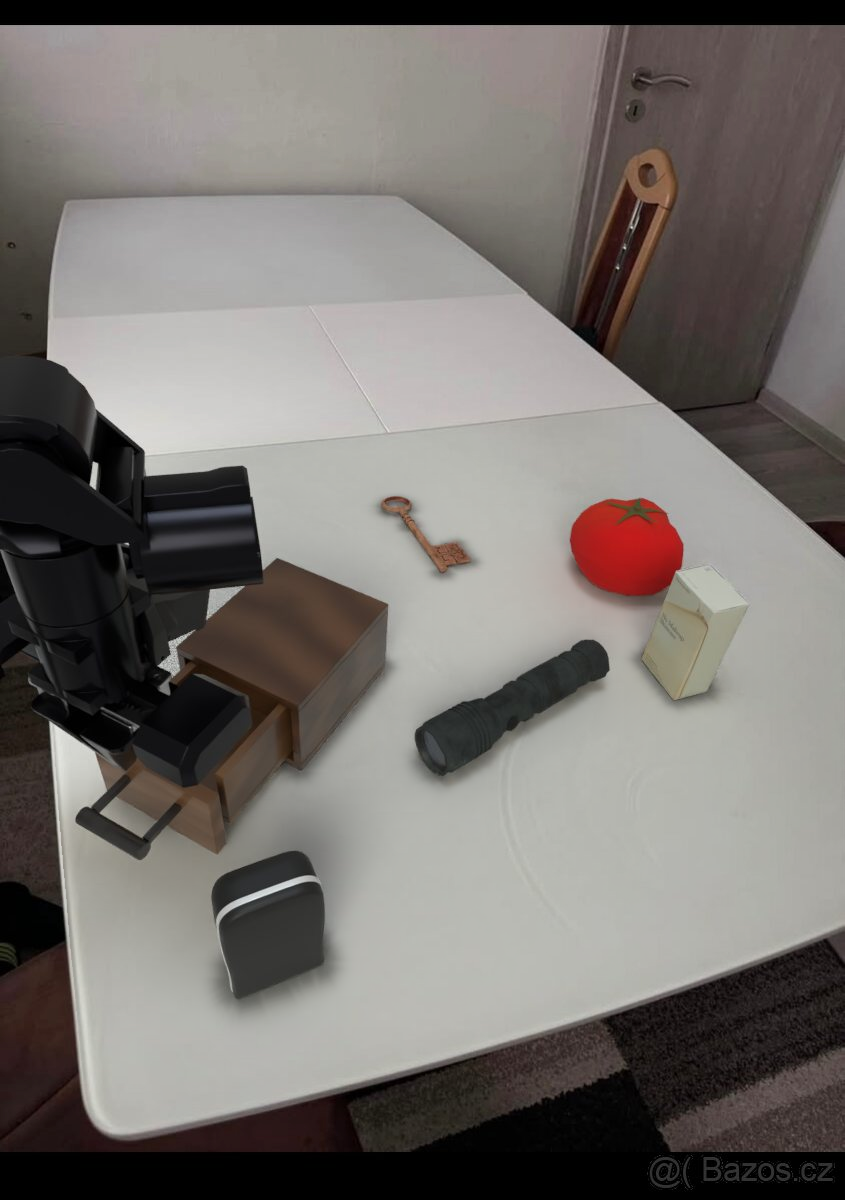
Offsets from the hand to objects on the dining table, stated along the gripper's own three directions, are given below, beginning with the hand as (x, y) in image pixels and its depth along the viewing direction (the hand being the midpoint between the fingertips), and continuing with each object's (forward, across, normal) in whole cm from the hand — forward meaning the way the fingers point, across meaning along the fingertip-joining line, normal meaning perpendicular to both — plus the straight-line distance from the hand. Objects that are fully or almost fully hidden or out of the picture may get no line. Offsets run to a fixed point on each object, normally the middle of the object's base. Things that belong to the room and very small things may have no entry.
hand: (126, 764), depth 55 cm
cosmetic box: (+13, -31, -42) cm, 54 cm away
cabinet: (+13, +1, -20) cm, 24 cm away
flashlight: (+13, -19, -28) cm, 36 cm away
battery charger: (+13, -12, +2) cm, 18 cm away
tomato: (+13, -21, -54) cm, 59 cm away
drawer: (+12, +2, -7) cm, 14 cm away
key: (+13, +2, -49) cm, 51 cm away
